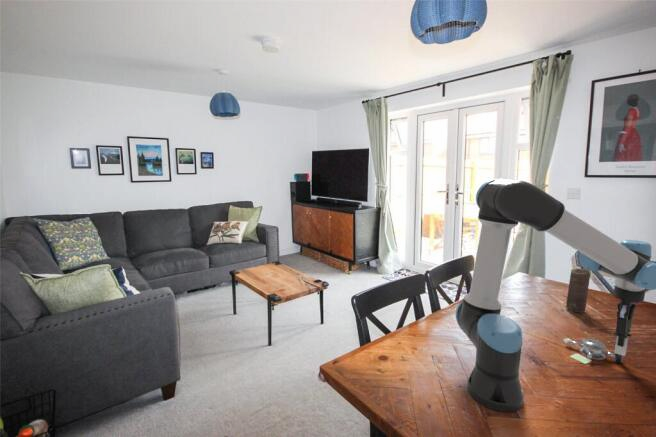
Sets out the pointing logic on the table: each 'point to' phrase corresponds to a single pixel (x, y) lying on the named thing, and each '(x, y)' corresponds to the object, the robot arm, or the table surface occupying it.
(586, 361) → the stand plate
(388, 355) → the table surface
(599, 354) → the cam capstan
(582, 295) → the candle
